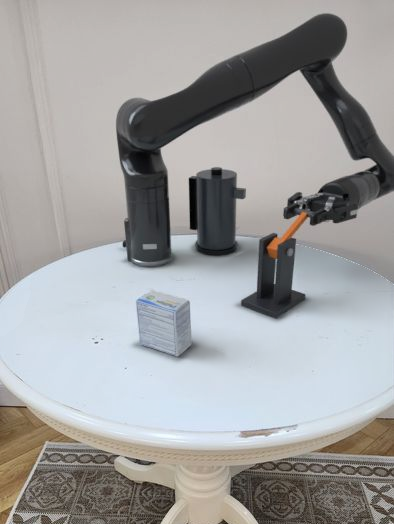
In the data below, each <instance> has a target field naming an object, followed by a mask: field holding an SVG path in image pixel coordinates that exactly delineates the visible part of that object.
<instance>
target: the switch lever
mask: <svg viewBox="0 0 394 524" xmlns="http://www.w3.org/2000/svg"><path fill="white" fill-rule="evenodd" d="M308 210H309V209H308ZM308 210H304V209H302V208H294V210H293V213H294V214H296V215H297V216H298V217H296V219H295V220H294V221H293V223H291V224H290V226H289V227H288V228H287V230H286V231H285V232H284V234H283V235H282V236H280V238H278V237H277V238H276V237H275V238H274V239H273V241H272V242H271V243H270V244H269V245H268V246H267V250H268V254H269V257H272V258H275V259H276V260H277V250H278V244H280V243H282V242H284V241H286V240H288V239H290V238H293V236H294V235H295V234H296V233H297V232H298V230H299V229H300V227H301V226H302V225H303V224H304V223H305V222H306V220H307V219H308V218H309V219H310V216H311V214H312V213H314V212H312V211H308Z"/></svg>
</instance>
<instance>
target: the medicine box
mask: <svg viewBox="0 0 394 524" xmlns="http://www.w3.org/2000/svg"><path fill="white" fill-rule="evenodd" d="M135 306H136V307H135V308H136V317H137V318H136V319H137V328H138V337H139V338H138V339H139V345H141V346H145V347H146V348H147V347H148V348H151V349H154V350H156V351H159V352H162V353H166V354H168V355H171V356H175V357H180V356H181V355H182V354H183V353H184V352H185V351H187V349H188V348H190V347H191V346H192V343H193V342H192V341H193V340H192V320H191V318H192V317H191V301H190V300H189V299H186V298H182V297H178V296H174V295H171V294H168V293H164V292H160V291H156V290H153V289H151V290H149V291H147V292H146V293H144V294H143V295H142V296H140V297H138V298H137V299H136V300H135Z"/></svg>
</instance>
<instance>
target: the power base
mask: <svg viewBox="0 0 394 524" xmlns="http://www.w3.org/2000/svg"><path fill="white" fill-rule="evenodd" d="M275 237H276V238H278V233H276V232H272V233H270V234H267V235H266V236H264V237H261V238H259V239H258V257H257V259H258V260H257V261H258V262H257V278H256V279H257V281H256V291H255V292H253V293H251V294H249V295H247V296H246V297H244V298H242V299H241V301H240V306H241V307H244V308H246V309H249V310H252V311H255V312H257V313H260V314H263V315H265V316H268V317H270V318H273V319H278V318H279V317H281V316H283V314H286V313H287V312H288V311H289V310H291V309H293V308H295V307H296V306H298V305H299V304H301V303H302V302H303V301H305V300H306V293H303V292H300V291H297V290H295V289H293V280H294V267H295V257H296V246H297V238H295V237H291V238H290V239H288V240H286V241H284V242H282V243H280V244H278V250H277V259H275V258H272V257H269V254H268V250H267V246H268V245H269V244H270V243H271V242H272V241H273V239H274V238H275Z"/></svg>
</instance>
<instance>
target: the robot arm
mask: <svg viewBox="0 0 394 524" xmlns="http://www.w3.org/2000/svg"><path fill="white" fill-rule="evenodd" d="M347 40H348V27H347V25H346V23H345V21H344V20H343V19H342V17H339V15H336V14H334V13H329V12H324V13H319V14H316V15H313V16H312V17H311V18H309V19H308V20H306V21H305V22H303V23H302V24H300V25H298V26H297V27H295V28H293V29H291V30H290V31H288V32H286V33H284V34H283V35H281V36H279V37H277V38H273V39H271V40H269V41H267V42H263V43H262V44H259V45H256V46H254V47H252V48H249V49H247V50H245V51H243V52H240V53H238V54H235V55H233V56H231V57H228V58H227V59H224V60H222V61H220V62H218V63H216V64H214V65H213V66H211V67H209V68H208V69H207V70H205V71H204V72H203V73H202V74H200V76H198V77H197V78H196V79H195V80H194V81H193V82H192V83H191V84H190V85H188V86H187V87H185V88H184V89H182V90H179V91H177V92H175V93H172V94H169V95H167V96H164V97H161V98H158V99H153V100H149V99H146V98H142V97H132V98H129V99H127V100H125V101H124V102H123V103H122V104H121V105H120V106H119V109H118V111H117V113H116V118H115V133H116V141H117V151H118V159H119V166H120V169H121V171H122V175H123V182H124V192H125V202H126V204H125V205H126V215H127V217H125V219H124V220H123V225H124V226H123V227H124V236H125V240H123V241H122V248H124V249H125V248H126V256H127V257H126V258H127V261H129V262H131V263H132V264H134V265H136V266H140V267H147V268H148V267H149V268H151V267H159V266H163V265H166V264H168V263H170V262H171V261H172V260H173V252H172V251H173V250H172V233H171V232H172V231H171V212H170V211H171V209H170V187H169V170H168V168H167V165H166V163H165V162H164V158H163V155H162V148H164V147H165V146H167V145H169V144H170V143H172V142H174V141H175V140H177V139H179V138H180V137H181V136H183V135H185V134H186V133H188V132H190V131H191V130H193V129H194V128H197V127H198V126H201V125H203V124H205V123H208V122H211V121H212V120H215V119H217V118H219V117H221V116H223V115H226V114H228V113H230V112H232V111H235V110H238V109H240V108H242V107H244V106H246V105H248V104H250V103H251V102H254V101H255V100H257V99H258V98H260V97H262V96H263V95H265V94H266V93H268V92H269V91H271V90H273V89H274V88H275V87H276V86H278V85H279V84H280V83H281V82H283V81H284V80H286V79H287V78H289V77H290V76H292V75H293V74H295V73H297V72H298V71H299V72H300V74H301V75H302V76H303V78H304V80H305V81H306V82H307V84H308V85H309V86H310V89H312V91H313V92H314V94H315V95H316V97H317V98H318V100H319V102H320V103H321V104H322V106H323V108H324V109H325V110H326V112H327V114H328V115H329V117H330V119H331V120H332V122H333V125H334V126H335V128H336V130H337V132H338V134H339V137H340V139H341V141H342V144H343V145H344V147H345V149H346V152H347V154H348V155H349V157H350V159H351V161H353V162H359V161H362V160H366V159H368V160H370V161H372V162H373V163H374V165H372V166H370V167H368V168H367V169H364V170H361V171H358V172H355V173H352V174H349V175H344V176H341V177H339V178H336V179H334V180H332V181H329V182H327V183H325V184H323V185H322V186H321V187H320V188H319V190H318V191H317V192H316V193H314V194H310V195H307V196H303V192H300V191H297V192H295V193H294V194H293V195H291V196H290V197H288V198H287V203H286V206H285V207H284V208H283V213H282V216H283V219H284V220H290V219H292V218H295V217H297V216H298V215H296V214H294V213H293V210H294V208H299V209H304V210H308V211H312V212H314V213H312V214H311V216H310V218H309V226H312V227H315V226H317V225H319V224H322V223H329V222H330V221H332V223H333V224H340V223H343V222H347V221H351V220H355V219H357V216H358V211H359V210H360V209H362V207H364V206H367V205H368V204H370V203H371V202H373V201H376V200H377V199H380V198H382V197H384V196H387V195H389V194H391V193H393V192H394V154H393V153H392V152H391V151H390V150H389V149H388V147H387V145H385V143H384V142H383V140H382V139H381V137H380V136H379V134H378V132H377V129H376V127H375V125H374V123H373V121H372V119H371V116H370V115H369V113H368V111H367V110H366V109H365V106H363V105H362V103H360V102H359V101H358V100H357V98H355V97H354V96H353V95H352V94H351V93H350V92H349V91H348V90H347V89H346V88H345V86H344V85H343V84H342V83H341V81H340V80H339V78H338V75H337V74H336V71H335V68H334V64H333V62H334V61H335V60H336V59H337V58H338V57H339V56H340V55H341V53H342V52H343V50H344V48H345V46H346V45H347Z"/></svg>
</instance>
